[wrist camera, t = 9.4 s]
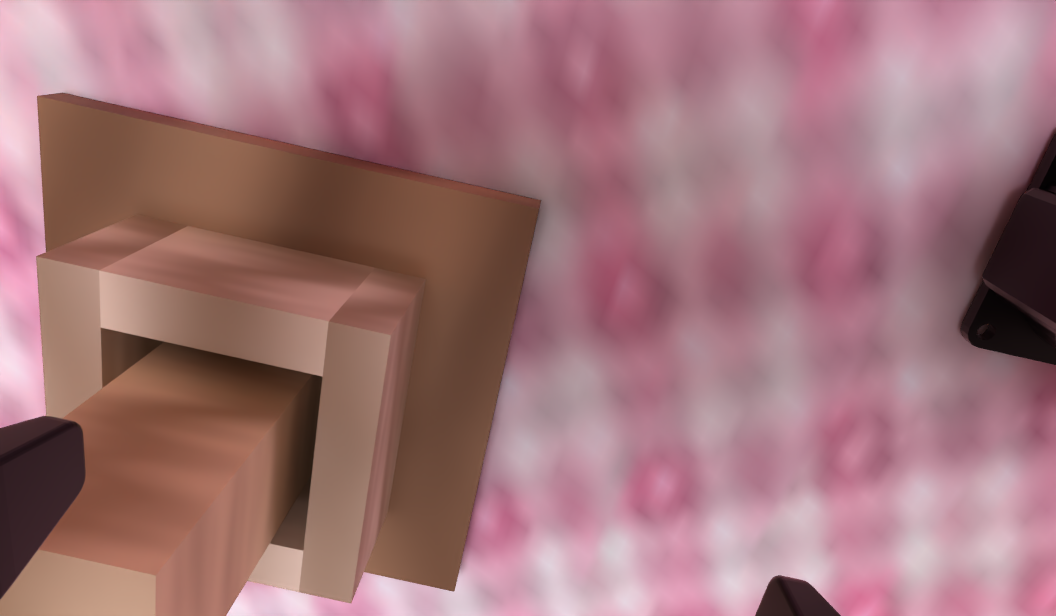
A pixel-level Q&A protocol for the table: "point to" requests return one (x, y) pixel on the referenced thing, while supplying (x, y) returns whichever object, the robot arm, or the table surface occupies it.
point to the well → (293, 314)
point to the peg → (175, 488)
